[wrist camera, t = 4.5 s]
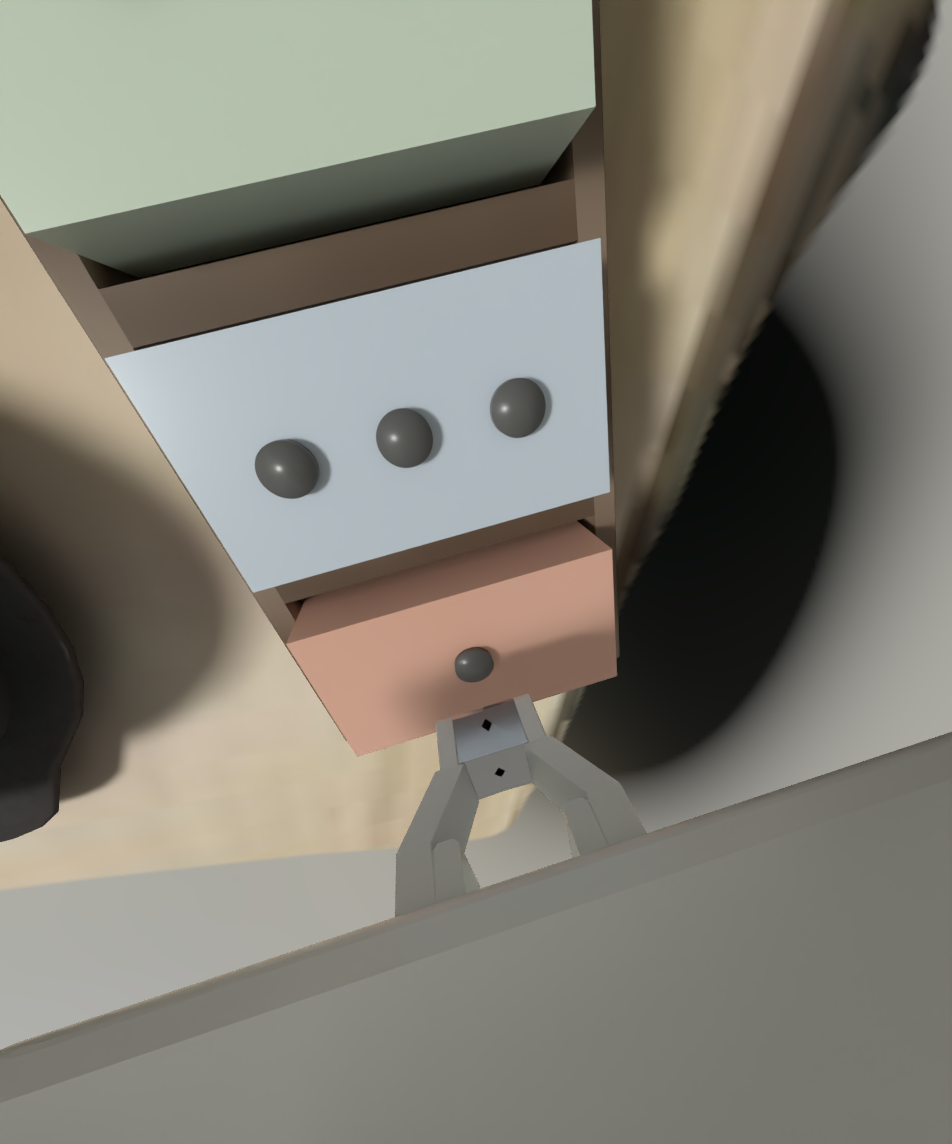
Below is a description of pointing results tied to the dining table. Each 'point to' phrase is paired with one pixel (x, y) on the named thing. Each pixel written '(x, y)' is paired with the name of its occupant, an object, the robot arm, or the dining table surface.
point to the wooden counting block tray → (351, 269)
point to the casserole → (33, 706)
